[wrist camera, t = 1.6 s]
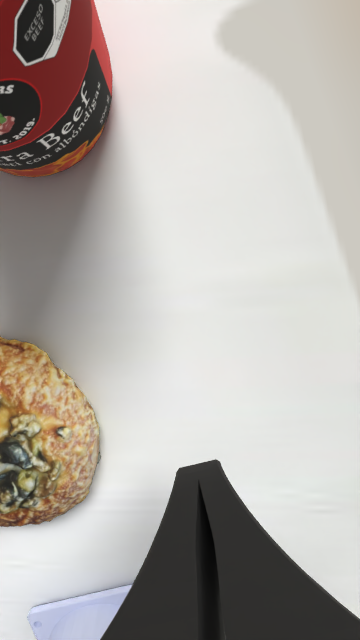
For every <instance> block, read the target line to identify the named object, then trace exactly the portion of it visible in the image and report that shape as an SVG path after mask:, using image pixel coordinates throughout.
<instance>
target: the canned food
mask: <svg viewBox="0 0 360 640" xmlns="http://www.w3.org/2000/svg"><path fill="white" fill-rule="evenodd" d="M111 98H112V71H111V64H110V57H109V52H108V49H107V45H106V42H105V38H104V35H103V31H102V28H101V24H100V21H99V17H98V14H97V10H96V7H95V3H94V0H0V171H3V172H7V173H10V174H13V175H16V176H27V177H38V176H46V175H51V174H54V173H57V172H60V171H62V170H65V169H68V168H70V167H71V166H73V165H74V164H76V163H77V162H79V161H80V160H82V159H83V158H84V156H85V155H86V154H87V153H88V152H89V151H90V150H91V149H92V148H93V146H94V145H95V143H96V142H97V140H98V139H99V137H100V135H101V133H102V130H103V127H104V125H105V122H106V120H107V117H108V113H109V108H110V103H111Z"/></svg>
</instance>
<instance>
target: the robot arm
mask: <svg viewBox="0 0 360 640" xmlns="http://www.w3.org/2000/svg"><path fill="white" fill-rule="evenodd" d="M27 618H28V621H29V623H30V625H31V628H32V630H33V632H34V634H35V636H36V639H37V640H360V619H359V618H358V617H357V616H355V615H354V614H353V613H352V612H350V611H349V610H348V609H347V608H345V607H344V606H343V605H342V604H340V603H339V602H338V601H337V600H336V599H335V598H334V597H332V596H331V595H330V594H329V593H328V592H327V591H326V590H325V589H323V588H322V587H321V586H320V585H319V584H318V583H317V582H316V581H314V580H313V579H312V578H311V577H310V576H309V575H308V574H307V573H305V572H304V571H303V570H302V569H301V568H300V567H299V566H298V565H297V564H296V563H295V562H294V561H293V560H292V559H291V558H290V557H289V556H288V555H287V554H286V553H285V552H284V551H283V550H282V549H281V547H280V546H279V545H278V544H277V543H276V542H275V541H274V540H273V539H272V538H271V537H270V535H269V534H268V533H267V532H266V531H265V530H264V528H263V527H262V526H261V525H260V524H259V522H258V521H257V520H256V519H255V518H254V516H253V515H252V514H251V512H250V511H249V510H248V508H247V507H246V506H245V504H244V503H243V502H242V500H241V499H240V497H239V496H238V495H237V493H236V491H235V490H234V488H233V487H232V485H231V484H230V482H229V480H228V478H227V477H226V475H225V473H224V471H223V469H222V466H221V463H220V462H219V461H218V460H212V461H208V462H203V463H199V464H195V465H191V466H186V467H182V468H179V469H178V471H177V473H176V478H175V481H174V485H173V489H172V492H171V495H170V498H169V502H168V505H167V507H166V510H165V513H164V516H163V518H162V521H161V524H160V526H159V529H158V531H157V534H156V536H155V538H154V541H153V543H152V545H151V548H150V550H149V552H148V555H147V557H146V559H145V561H144V563H143V565H142V567H141V569H140V571H139V573H138V575H137V577H136V579H135V581H134V583H133V584H131V585H127V586H122V587H118V588H114V589H109V590H105V591H101V592H96V593H92V594H88V595H83V596H79V597H74V598H70V599H66V600H61V601H57V602H53V603H48V604H44V605H40V606H35V607H33V608H31V609H30V611H29V614H28V617H27Z"/></svg>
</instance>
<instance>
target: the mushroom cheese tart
mask: <svg viewBox="0 0 360 640" xmlns="http://www.w3.org/2000/svg"><path fill="white" fill-rule="evenodd" d="M99 454H100V452H99V426H98V422H97V421H96V418H95V414H94V411H93V410H92V408H91V406H90V404H89V403H88V401H87V400H86V397H85V395H84V394H83V393H82V392H81V391H80V390H79V388H78V387H77V386H76V385H75V382H74V381H73V379H72V378H71V377H69V376H68V375H67V374H66V373H65V372H63V371H62V370H61V369H59V368H57V367H56V366H55V365H54V364H53V363H52V362H51V360H50V358H49V357H48V355H47V353H46V352H44V351H43V350H41V349H39V348H38V347H37V346H35V345H33V344H31V343H28V342H21V341H18V340H15V339H13V340H7V339H4V338H2V337H1V336H0V526H4V527H9V526H23V525H27V524H40V523H42V522H44V521H51V520H52V519H53V518H55V517H57V516H59V515H62V514H64V513H66V512H67V511H68V510H69V509H71V508H72V507H74V506H75V505H76V504H78V503H80V502H82V501H83V500H84V499H85V498H86V495H87V494H88V493H89V487H90V485H91V483H92V477H93V475H94V471H95V468H96V465H97V464H98V462H99V460H100V458H101V456H100V455H99Z"/></svg>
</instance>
